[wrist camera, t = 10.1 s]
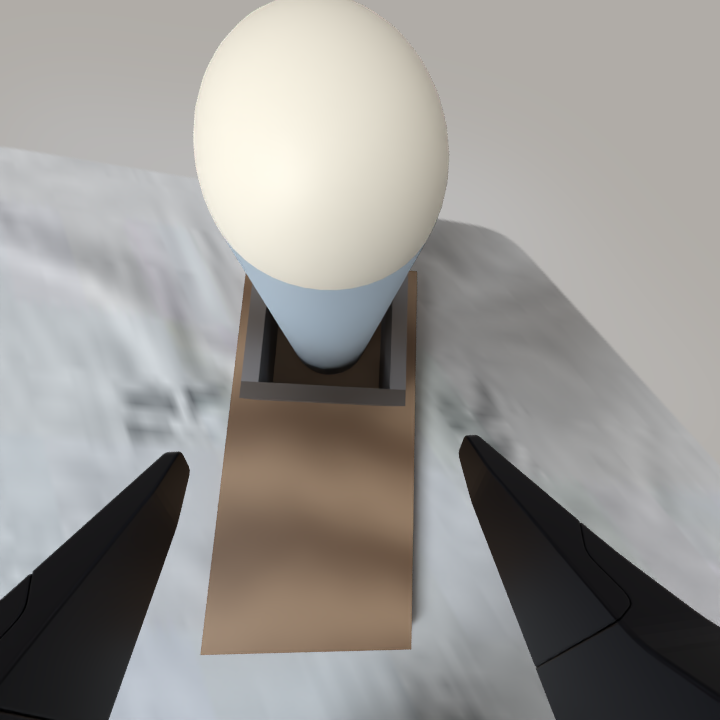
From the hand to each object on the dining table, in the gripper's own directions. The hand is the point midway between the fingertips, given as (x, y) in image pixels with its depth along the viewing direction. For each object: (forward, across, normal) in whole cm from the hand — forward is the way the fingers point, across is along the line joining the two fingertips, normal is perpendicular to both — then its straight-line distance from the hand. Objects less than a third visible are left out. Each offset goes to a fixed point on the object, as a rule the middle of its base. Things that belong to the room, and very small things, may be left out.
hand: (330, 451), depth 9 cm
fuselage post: (+10, 0, +2) cm, 10 cm away
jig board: (+6, 0, +7) cm, 9 cm away
